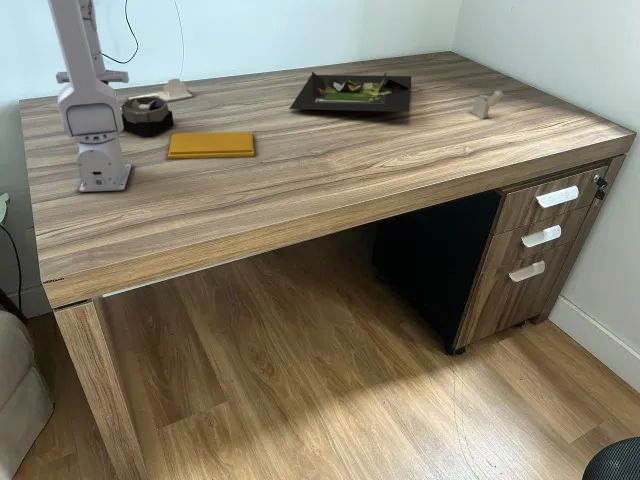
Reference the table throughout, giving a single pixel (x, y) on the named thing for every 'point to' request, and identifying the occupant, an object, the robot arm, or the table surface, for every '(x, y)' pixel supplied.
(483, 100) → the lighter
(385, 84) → the black plate with food
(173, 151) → the tray
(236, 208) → the table surface
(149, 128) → the cpu cooler
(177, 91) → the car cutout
